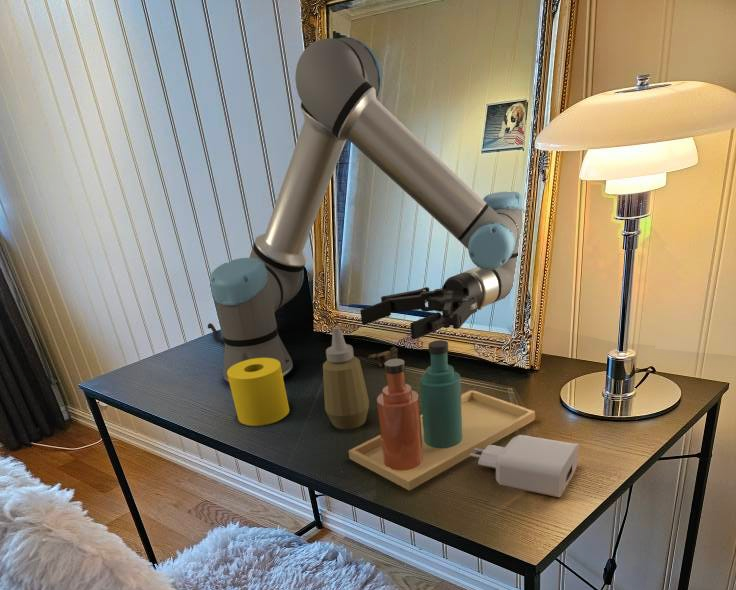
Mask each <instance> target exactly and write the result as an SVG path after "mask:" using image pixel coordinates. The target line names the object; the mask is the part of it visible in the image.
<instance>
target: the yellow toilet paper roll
mask: <svg viewBox="0 0 736 590" xmlns="http://www.w3.org/2000/svg"><path fill="white" fill-rule="evenodd" d="M227 375H228V379H229V383H230V386H229V387H230V391H231V395H232V399H233V403H234V407H235V411H236V416H237V420H238V422H239V423H241V424H243V425H245V426H252V427H260V426H265V425H266V426H267V425H270V424H274V423H277V422H279V421H281V420H283V419H284V418H285V417H287V416H288V414H289V413H290V405H289V401H288V396H287V390H286V385H285V381H284V380H285V379H284V380H283V374H282V369H281V364H280V362H279V361H278V360H276V359H273V358H254V359H249V360H245V361H242V362H239V363H237V364H235V365H233V366H231V367H230V368H229V369H228V371H227Z"/></svg>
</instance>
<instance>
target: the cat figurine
mask: <svg viewBox="0 0 736 590" xmlns="http://www.w3.org/2000/svg"><path fill="white" fill-rule="evenodd" d="M398 353H399V349H398V348H397V347H396V346H392V347H390V350H386V351H383V352H380V353H373V354H369V355H367V357H366V359H367V360H377V362H378V366H379V367H380V368H383V367H384V363H385V362H386V361H388V360H391V359H398Z"/></svg>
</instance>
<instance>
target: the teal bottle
mask: <svg viewBox="0 0 736 590" xmlns="http://www.w3.org/2000/svg"><path fill="white" fill-rule="evenodd" d="M448 352H449V341H447V340H442V339H437V340H433V341H430V342H429V343H428V353H429V355H430V366H428V367H426V369H425V373H424V374H422V375H421V376H420V378H419V385H420V386H419V388H420V403H421V414H422V418H423V432H424V442H425V443H426V444H427V445H428V446H431V447H434V448H449V447H453V446H455V445H457V444H459V443H460V442H461V441H462V409H461V395H462V385H461V383H462V382H461V381H462V379H461V374H460V373H458V372H457V371H455V368H454V367H453V366H452V365H451V364H449V362H448V361H449V359H448Z"/></svg>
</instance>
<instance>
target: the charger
mask: <svg viewBox="0 0 736 590" xmlns="http://www.w3.org/2000/svg"><path fill="white" fill-rule="evenodd" d="M579 448H580V445H579V443H573V442H568V441H563V440H562V441H561V440H555V439H550V438H544V437H538V436H537V437H535V436H531V435H525V434H519V435H516V436H514V437H512V438H511V439H510V441H509V442H508V443H507V444H506V446H500V445H495V444H491V445H488V446H487V447H486V448H484V449H477V448H475V449H474V451H478V452H477V453H480V454H477V453H475V454H472V453H471V454H470V457H473V458H478V461H477V465H478V466H481V467H484V468H490V469H495V480H496V482H497V483H498V485H500V486H503V487H509V488H512V489H518V490H523V491H526V492H531V493H535V494H536V493H537V494H541V495H545V496H550V497H555V498H561V496H562V495H563V493H564V492H565V490H566V488H567V487H568V485H569V483H570V482H571V480H572V478H573V476H574V475H575V473H576V470H577V467H578V463H579V462H578V461H579V450H580V449H579Z"/></svg>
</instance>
